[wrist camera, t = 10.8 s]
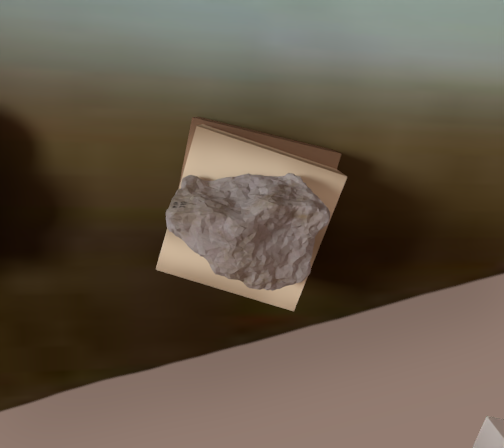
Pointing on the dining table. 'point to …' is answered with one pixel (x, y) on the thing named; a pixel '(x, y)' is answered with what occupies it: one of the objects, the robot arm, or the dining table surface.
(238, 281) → the tower top
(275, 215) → the stone
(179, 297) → the dining table surface
